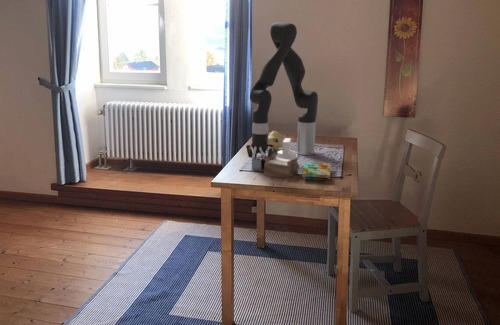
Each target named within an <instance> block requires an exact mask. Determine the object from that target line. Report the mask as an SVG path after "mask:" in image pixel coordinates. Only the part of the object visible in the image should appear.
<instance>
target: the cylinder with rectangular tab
mask: <svg viewBox="0 0 500 325" xmlns="http://www.w3.org/2000/svg"><path fill="white" fill-rule="evenodd" d="M276 154H277V156H276V158H282V159H289V160H291V159H293V158H295V157H297V156H296V154H297V151H295V150H292V138H291V137H290V138H289V137H288V138H287V137H285V138H283V143H282V150H278V151H276Z"/></svg>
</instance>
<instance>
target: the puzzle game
mask: <svg viewBox="0 0 500 325" xmlns="http://www.w3.org/2000/svg"><path fill="white" fill-rule="evenodd" d="M302 177H303V178H304V179H305V180H315V181H317V180H318V181H327V180H329V179H330V178H331V162H318V161H317V162H315V161H313V162H312V161H305V163H304V167H303V171H302Z"/></svg>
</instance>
